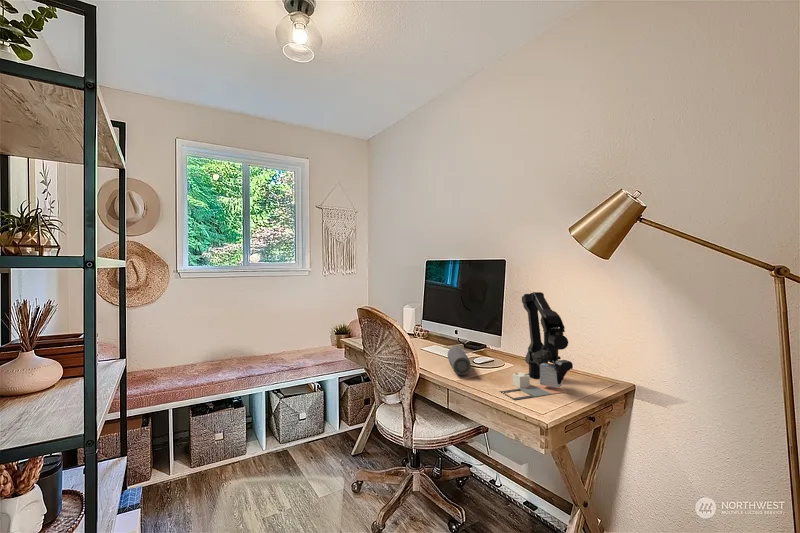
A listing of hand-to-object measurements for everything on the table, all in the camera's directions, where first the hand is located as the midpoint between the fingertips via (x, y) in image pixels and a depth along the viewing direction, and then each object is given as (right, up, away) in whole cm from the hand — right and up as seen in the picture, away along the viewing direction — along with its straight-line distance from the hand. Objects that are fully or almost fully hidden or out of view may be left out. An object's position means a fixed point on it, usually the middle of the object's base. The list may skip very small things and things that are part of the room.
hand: (551, 380), depth 162 cm
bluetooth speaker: (-35, -4, +29) cm, 45 cm away
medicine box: (0, -2, 0) cm, 2 cm away
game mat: (-8, -4, -3) cm, 10 cm away
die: (-11, -4, +5) cm, 13 cm away
